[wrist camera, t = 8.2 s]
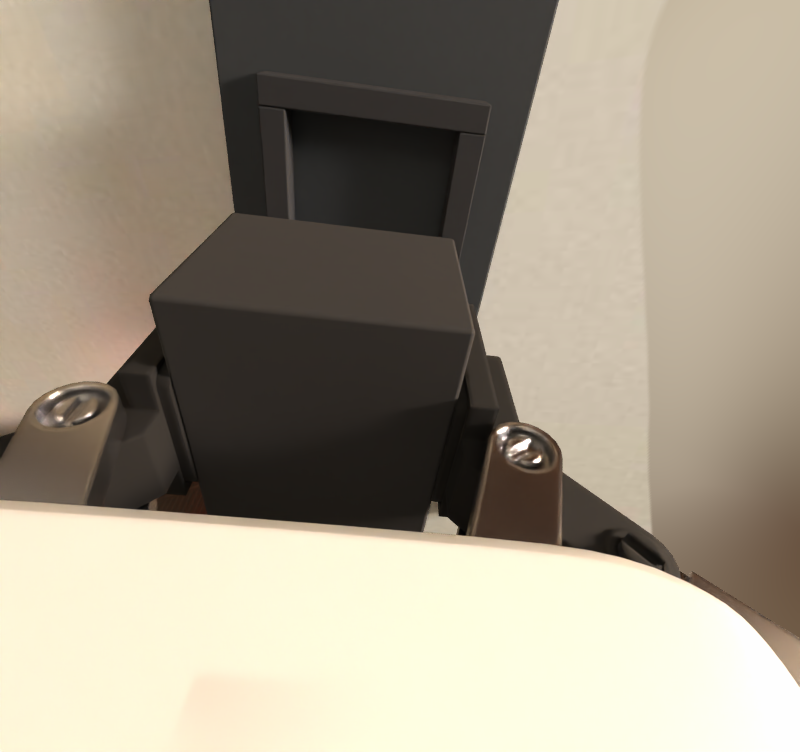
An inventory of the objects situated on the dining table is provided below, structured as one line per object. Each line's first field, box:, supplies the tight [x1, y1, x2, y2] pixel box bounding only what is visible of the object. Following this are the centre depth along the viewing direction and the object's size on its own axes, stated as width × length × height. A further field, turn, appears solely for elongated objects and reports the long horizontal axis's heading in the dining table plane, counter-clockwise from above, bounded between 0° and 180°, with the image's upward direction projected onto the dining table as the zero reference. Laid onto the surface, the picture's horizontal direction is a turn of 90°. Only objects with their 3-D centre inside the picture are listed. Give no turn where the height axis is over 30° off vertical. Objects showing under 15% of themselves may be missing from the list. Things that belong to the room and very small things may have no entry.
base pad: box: [209, 0, 559, 316], centre depth 19 cm, size 16×12×2 cm
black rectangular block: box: [149, 213, 475, 532], centre depth 10 cm, size 6×5×4 cm
